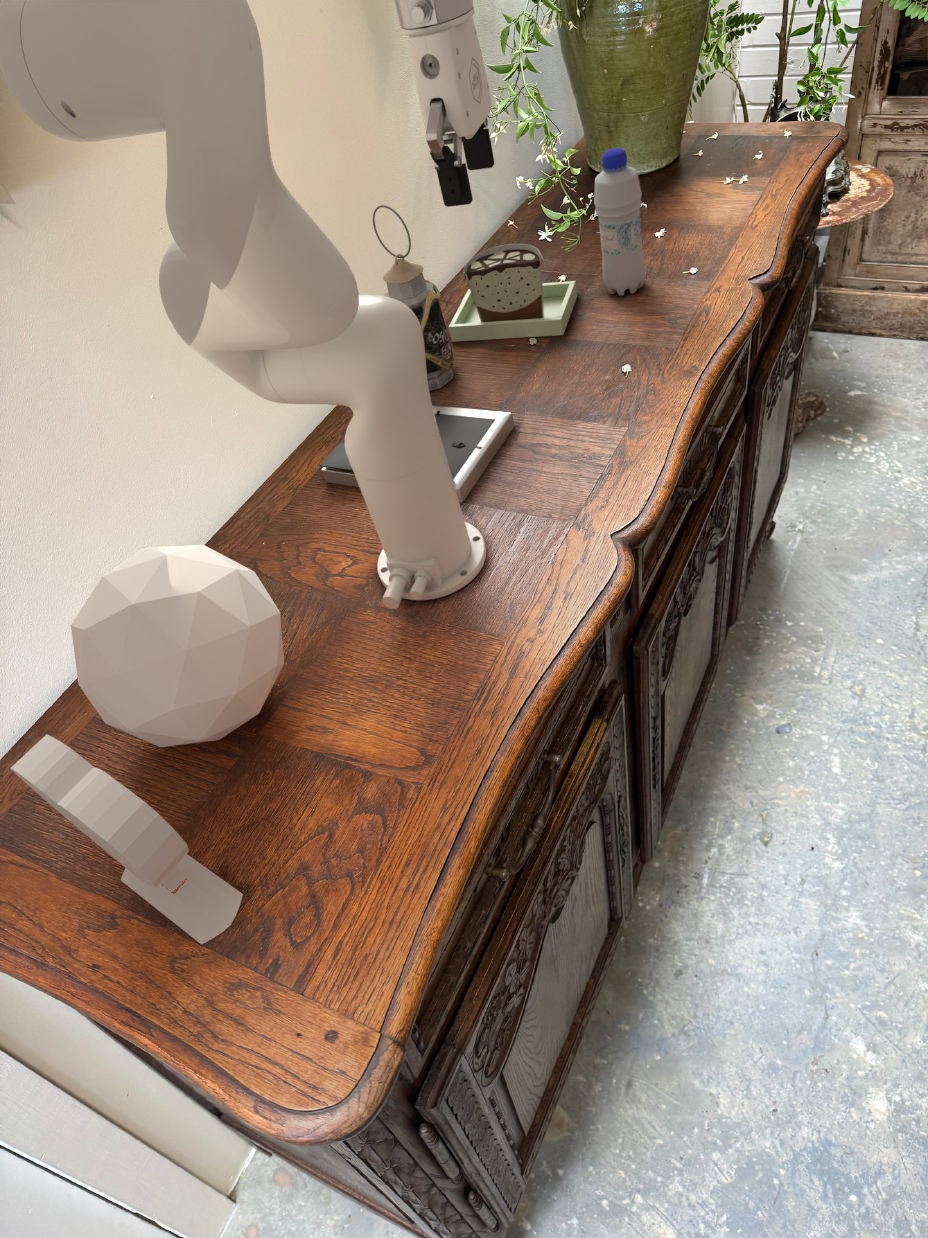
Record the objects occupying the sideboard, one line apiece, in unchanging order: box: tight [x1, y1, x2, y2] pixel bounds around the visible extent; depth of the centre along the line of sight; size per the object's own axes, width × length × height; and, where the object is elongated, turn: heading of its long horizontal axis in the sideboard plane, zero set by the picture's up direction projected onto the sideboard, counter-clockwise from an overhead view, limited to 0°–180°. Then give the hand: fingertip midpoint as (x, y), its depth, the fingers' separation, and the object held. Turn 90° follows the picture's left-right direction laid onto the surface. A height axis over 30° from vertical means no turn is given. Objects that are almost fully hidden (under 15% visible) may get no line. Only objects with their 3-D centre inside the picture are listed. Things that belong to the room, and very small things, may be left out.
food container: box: [462, 243, 547, 322], centre depth 126 cm, size 12×6×10 cm, turn 84°
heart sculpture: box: [9, 733, 244, 945], centre depth 67 cm, size 16×5×18 cm, turn 55°
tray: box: [448, 280, 578, 343], centre depth 129 cm, size 12×18×2 cm, turn 74°
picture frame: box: [318, 405, 515, 503], centre depth 110 cm, size 16×3×21 cm
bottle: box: [593, 147, 646, 297], centre depth 122 cm, size 7×7×20 cm
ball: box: [70, 544, 285, 748], centre depth 81 cm, size 19×20×20 cm
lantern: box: [372, 204, 455, 392], centre depth 114 cm, size 9×8×25 cm
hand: (470, 185), depth 95 cm, fingers open, 9 cm apart
